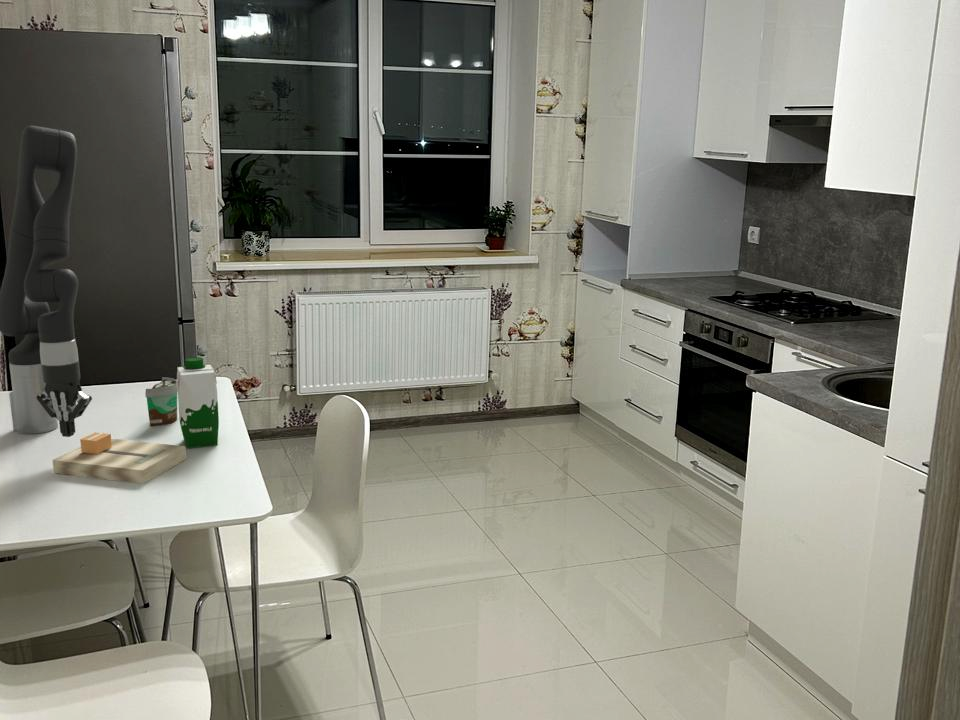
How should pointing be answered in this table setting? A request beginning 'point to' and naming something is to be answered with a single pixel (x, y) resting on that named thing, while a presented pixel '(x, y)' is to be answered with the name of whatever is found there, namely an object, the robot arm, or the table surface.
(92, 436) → the fader knob
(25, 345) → the robot arm
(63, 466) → the fader console
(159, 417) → the food container
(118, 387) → the table surface
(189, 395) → the milk carton
